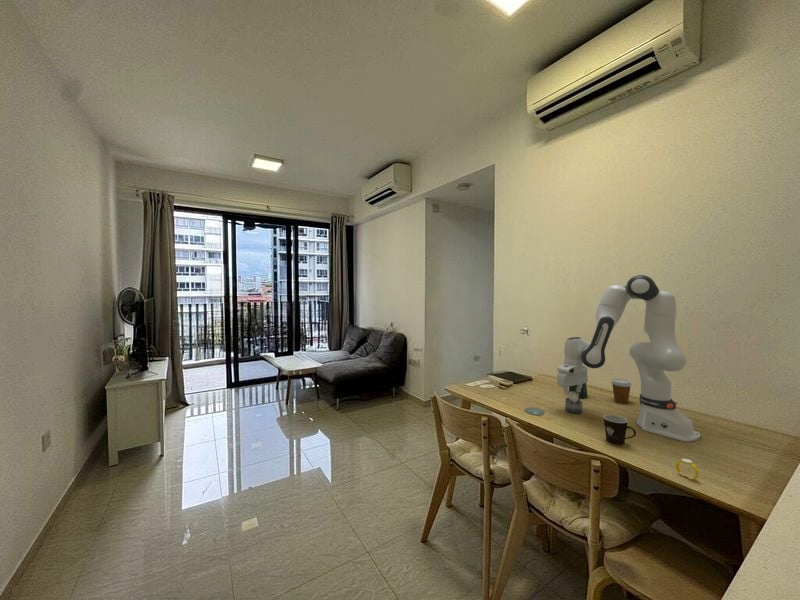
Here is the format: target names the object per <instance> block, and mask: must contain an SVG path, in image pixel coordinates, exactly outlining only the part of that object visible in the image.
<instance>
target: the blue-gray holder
mask: <svg viewBox="0 0 800 600" xmlns="http://www.w3.org/2000/svg"><path fill="white" fill-rule="evenodd" d="M564 405H565V407H564V410H565V412H566V413H567V414H573V415H582V414H583V401H581V398H578V402H577V404H573V403H572V401H569V396H568V397H566V398H565V401H564Z"/></svg>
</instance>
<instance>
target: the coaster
mask: <svg viewBox="0 0 800 600" xmlns="http://www.w3.org/2000/svg"><path fill="white" fill-rule="evenodd" d="M524 413H526V414H528V415H533V416H543V415H545V414H544V413H546V411H545V410H544V409H542V408H538V407H534V406H533V407H531V406H530V407H525V408H524Z"/></svg>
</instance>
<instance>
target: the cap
mask: <svg viewBox="0 0 800 600" xmlns="http://www.w3.org/2000/svg"><path fill="white" fill-rule="evenodd" d="M568 391H569V390H568ZM578 396H579V394H578V393H577V392H570V391H569V394H568V397H569V401H572V403H573V404H577V402H578V399H579V398H578Z"/></svg>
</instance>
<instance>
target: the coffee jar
mask: <svg viewBox="0 0 800 600" xmlns="http://www.w3.org/2000/svg"><path fill="white" fill-rule="evenodd" d="M585 368H586V371H587V372H588V369H587V368H588V367H587V366H585ZM577 386H578V385H574V386H568V391H570V392H576V388H577ZM577 393H578V394H579V396H578V399H586V398H588V387H587V383H584V384H582V388H581V392H577Z"/></svg>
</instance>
